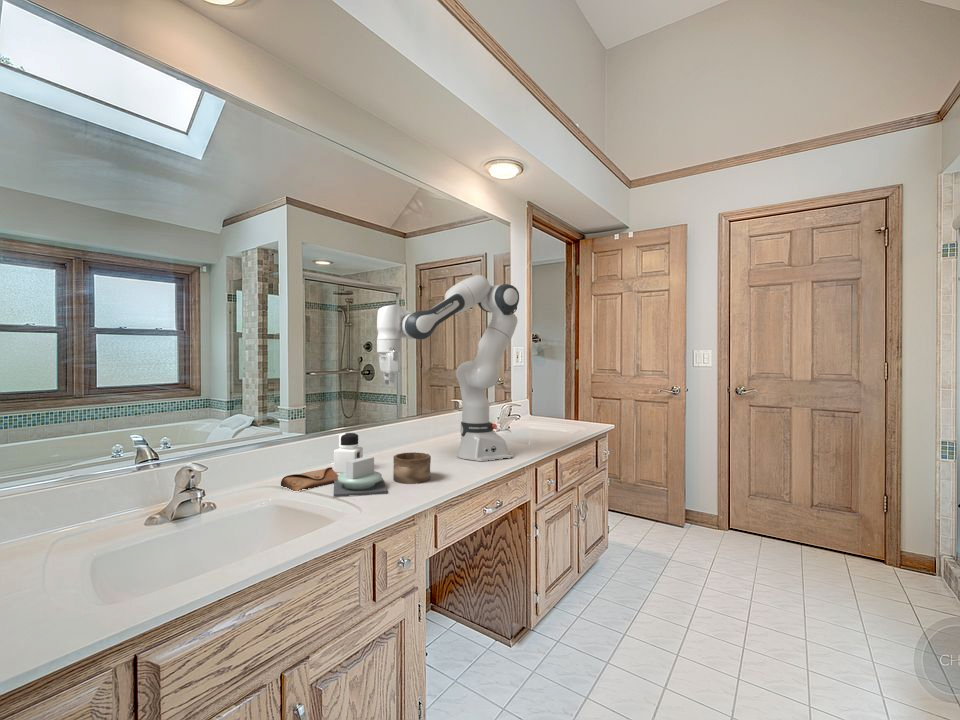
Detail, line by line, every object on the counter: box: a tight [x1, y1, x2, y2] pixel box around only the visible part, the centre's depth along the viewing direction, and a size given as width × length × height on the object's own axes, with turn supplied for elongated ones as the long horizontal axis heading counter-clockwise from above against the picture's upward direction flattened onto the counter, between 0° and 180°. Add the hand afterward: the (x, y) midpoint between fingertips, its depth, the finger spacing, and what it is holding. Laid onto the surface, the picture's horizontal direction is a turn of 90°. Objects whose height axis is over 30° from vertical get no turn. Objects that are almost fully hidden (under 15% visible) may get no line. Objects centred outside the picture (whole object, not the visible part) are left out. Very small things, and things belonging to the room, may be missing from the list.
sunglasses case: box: [280, 466, 339, 492], centre depth 144 cm, size 18×7×7 cm, turn 143°
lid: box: [337, 455, 383, 490], centre depth 140 cm, size 13×13×8 cm
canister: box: [392, 451, 432, 485], centre depth 152 cm, size 12×12×8 cm
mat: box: [333, 477, 388, 497], centre depth 140 cm, size 15×15×1 cm
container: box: [332, 432, 364, 474], centre depth 161 cm, size 8×8×13 cm
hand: (389, 385), depth 169 cm, fingers open, 8 cm apart
